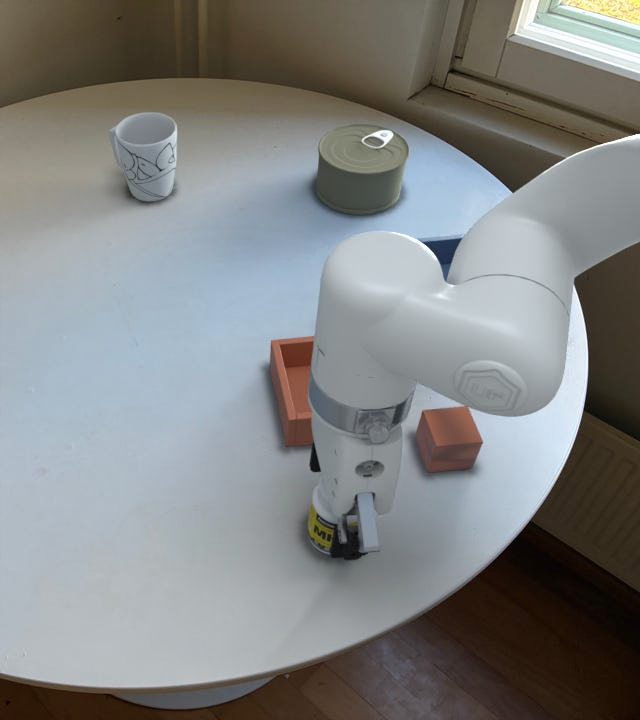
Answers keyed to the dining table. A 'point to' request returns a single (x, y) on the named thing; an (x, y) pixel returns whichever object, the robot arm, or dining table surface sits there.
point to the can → (361, 168)
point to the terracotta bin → (293, 387)
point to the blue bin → (443, 249)
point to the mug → (146, 154)
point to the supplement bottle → (323, 520)
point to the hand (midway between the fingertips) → (337, 508)
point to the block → (448, 439)
